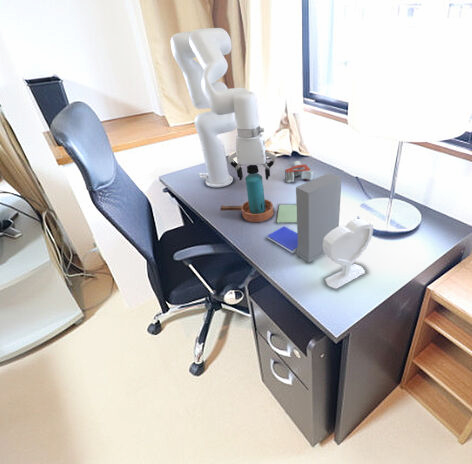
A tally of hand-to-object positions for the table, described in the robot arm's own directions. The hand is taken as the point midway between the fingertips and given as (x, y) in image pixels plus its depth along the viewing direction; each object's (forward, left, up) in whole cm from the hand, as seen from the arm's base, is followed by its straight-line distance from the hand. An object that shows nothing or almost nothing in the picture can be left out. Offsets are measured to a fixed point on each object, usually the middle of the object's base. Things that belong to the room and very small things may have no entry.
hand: (254, 178), depth 117 cm
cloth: (+13, 0, -16) cm, 20 cm away
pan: (0, 0, -16) cm, 16 cm away
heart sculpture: (+31, -35, -16) cm, 50 cm away
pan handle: (-10, 0, -13) cm, 17 cm away
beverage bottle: (0, 0, -16) cm, 15 cm away
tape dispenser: (+16, +35, -16) cm, 42 cm away
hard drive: (+13, -18, -16) cm, 27 cm away
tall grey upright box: (+23, -23, -16) cm, 36 cm away
